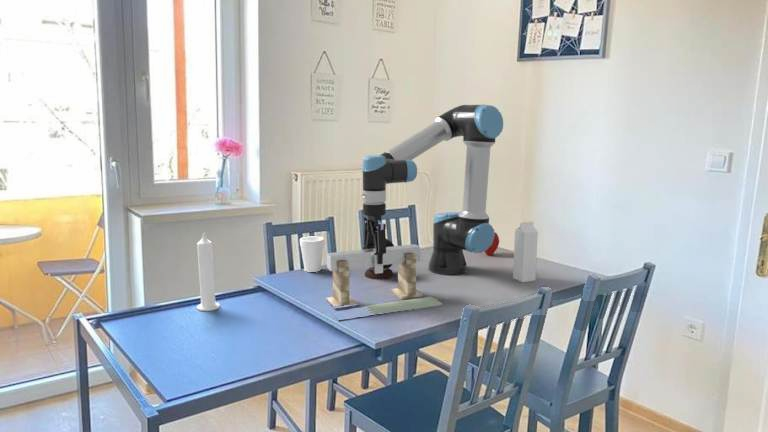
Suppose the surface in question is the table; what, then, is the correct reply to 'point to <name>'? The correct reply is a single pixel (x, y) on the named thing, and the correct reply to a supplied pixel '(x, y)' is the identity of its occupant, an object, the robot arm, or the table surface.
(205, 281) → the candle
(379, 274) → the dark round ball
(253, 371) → the table surface
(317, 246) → the foam cup
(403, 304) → the mat
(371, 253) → the rail
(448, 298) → the table surface
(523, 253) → the milk
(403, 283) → the cradle posts
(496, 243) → the apple
